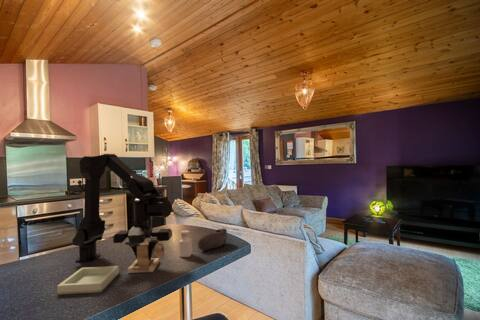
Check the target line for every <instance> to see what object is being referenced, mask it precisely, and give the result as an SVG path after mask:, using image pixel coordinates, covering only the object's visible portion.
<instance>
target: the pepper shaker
mask: <svg viewBox="0 0 480 320" xmlns="http://www.w3.org/2000/svg"><path fill="white" fill-rule="evenodd" d="M190 234H191V232H190V230H186V229H185V230H182V231H180V235H181V236H180V237H181V239H180V240H179V243H178V244H179V257H180V258H190V257H191V255H192V254H193V244H192V243H193V240H192V238H190V237H191V236H190Z"/></svg>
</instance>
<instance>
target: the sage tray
mask: <svg viewBox="0 0 480 320" xmlns="http://www.w3.org/2000/svg"><path fill="white" fill-rule="evenodd" d="M119 274H120V266H119V265H109V266H91V267H89V266H88V267H80V268H79V269H78V270H77V271H75V272H74V273H73V274H71V275H70V276H69V277H67V278H66V279H65V280H63V281H61V282H60V283H59V284H58V285H57V287H56V288H57V289H56V291H57V295H59V296H60V295H72V294H73V295H74V294H75V295H76V294H77V295H78V294H89V293H90V294H93V293H102V292H103V291H104V290H105V289H106V288H107V287H108V285H110V283H112V282H113V280H114V279H115V278H117V276H118V275H119Z"/></svg>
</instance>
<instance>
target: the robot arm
mask: <svg viewBox="0 0 480 320" xmlns="http://www.w3.org/2000/svg"><path fill="white" fill-rule="evenodd" d="M106 167H107V168H108V169H109V170H111V172H112V173H114V174H115V175H116V176H117V177H118V178H119V179H120V180H122V181H123V182H124V184H125V186H126V189H127V191H128V193H130V194H131V196H132V198H131V199H130V200H129V201H128V203H129V204H133V216H134V218H133V220H132V227H130V229H127V230H119V231H118V232H117V233H115V234H113V237H112V242H113V244H123V242H125V244H124V245H126V246H129V247H130V248H131V249H132V251H133V254H134V256H135V258H136V259H137V246H138V245H139V244H140V243H143V242H144V241H146V239H150V240H149V241H148V242H149V243H148V244H149V260H151V258H153V257H152V254H153V251H154V248H155V246H156V243H159V242H167V241H168V242H169V240H170V239H171V238H172V237H173V230H172V229H171V228H160V229H159V230H158V231H153V230H154V228H153V219H154V218H153V217H156V218H159V217H160V218H168V217H169V216H170V215H171V213H172V210H173V205H172V203H171V201H170V200H169V199H168V198H169V197H168V196H161V195H160V193H159V192H158V190H157V189H156V187H155V184H154V182H153V181H152V180H151V179H150V178H148V177H147V176H144V175H141V174H138V173H137V172H135V171H134V170H133V169H131V168H130V167H129V166H128V165H127V164H126V163H125V162H123V161H122V160H121V159H120V158H119V157H118V155H116V154H115V153H104V154H100V155H95V156H94V155H92V156H91V155H90V156H89V155H87V156H85V155H84V156H83V157H82V158H81V159H80V161H79V172H80V174H81V175H82V177H83V178H84V211H83V213H84V215H83V218H82V219H81V222H80V223H79V224H78V232H77V233H76V234H75V236H74V237H73V238H72V241H71V242H72V244H73V246H77V247H78V252H79V253H78V254H79V256H78V258H77V259H75V263H76V262H93V261H94V260H96V259H97V258H98V257H100V256H101V255H102V253H98V249H97V247H98V246H97V244H98V243H97V242H98V241H102V239H103V236H104V233H105V231H106V221H105V220H106V219H105V220H104V219H102V217H101V216H100V200H101V199H100V198H101V197H100V196H101V195H100V194H101V189H100V188H101V179H102V177H103V175H104V174H105V171H106Z"/></svg>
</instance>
